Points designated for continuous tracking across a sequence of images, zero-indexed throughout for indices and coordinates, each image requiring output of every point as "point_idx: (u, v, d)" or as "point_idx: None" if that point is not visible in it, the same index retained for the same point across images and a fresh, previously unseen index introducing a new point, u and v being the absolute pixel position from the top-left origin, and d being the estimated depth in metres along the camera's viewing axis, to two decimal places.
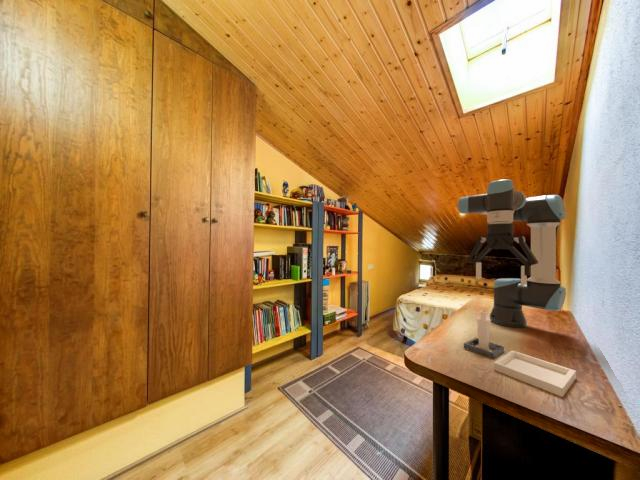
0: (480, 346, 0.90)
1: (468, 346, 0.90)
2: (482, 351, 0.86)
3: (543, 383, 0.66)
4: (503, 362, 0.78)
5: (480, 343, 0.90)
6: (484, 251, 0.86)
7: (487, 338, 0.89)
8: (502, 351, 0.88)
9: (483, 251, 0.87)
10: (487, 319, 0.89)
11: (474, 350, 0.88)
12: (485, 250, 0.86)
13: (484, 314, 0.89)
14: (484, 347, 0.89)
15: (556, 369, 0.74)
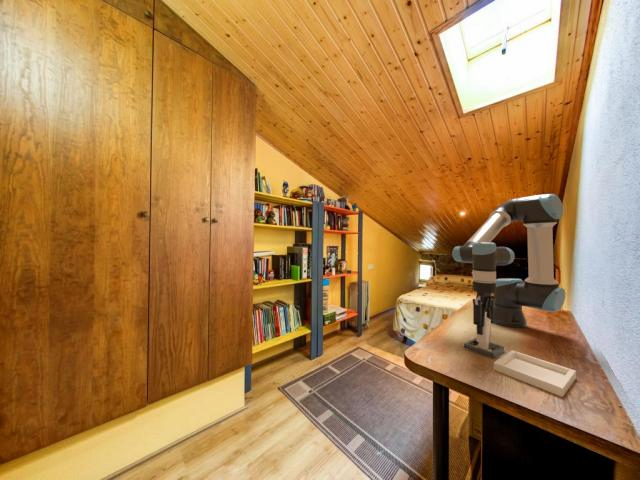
0: (480, 346, 0.90)
1: (468, 346, 0.90)
2: (482, 351, 0.86)
3: (543, 383, 0.66)
4: (503, 362, 0.78)
5: (480, 343, 0.90)
6: None
7: (487, 338, 0.89)
8: (502, 351, 0.88)
9: None
10: (487, 319, 0.89)
11: (474, 350, 0.88)
12: None
13: None
14: (484, 347, 0.89)
15: (556, 369, 0.74)
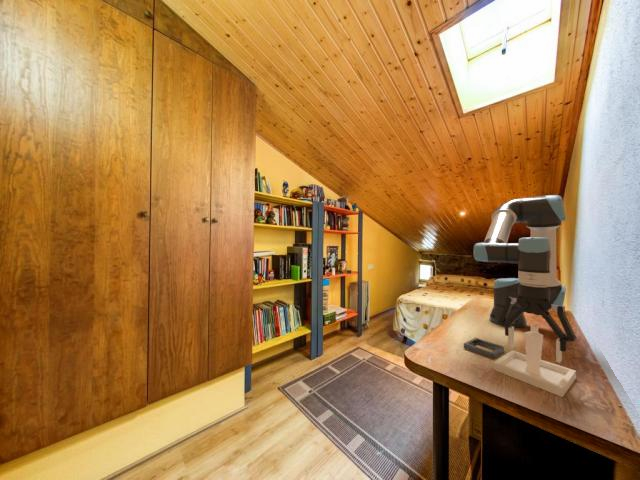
0: (539, 370, 0.72)
1: (468, 346, 0.90)
2: (482, 351, 0.86)
3: (543, 383, 0.66)
4: (503, 362, 0.78)
5: (539, 366, 0.72)
6: (517, 315, 0.77)
7: None
8: (502, 351, 0.88)
9: (515, 315, 0.77)
10: None
11: (474, 350, 0.88)
12: (518, 314, 0.76)
13: None
14: (539, 368, 0.73)
15: (556, 369, 0.74)
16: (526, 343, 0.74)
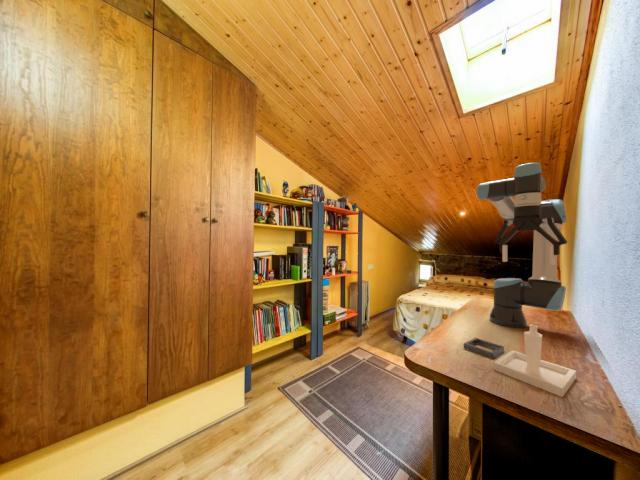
0: (539, 370, 0.72)
1: (468, 346, 0.90)
2: (482, 351, 0.86)
3: (543, 383, 0.66)
4: (503, 362, 0.78)
5: (539, 366, 0.72)
6: (511, 233, 0.89)
7: None
8: (502, 351, 0.88)
9: (510, 234, 0.89)
10: None
11: (474, 350, 0.88)
12: (512, 232, 0.88)
13: None
14: (539, 368, 0.73)
15: (556, 369, 0.74)
16: (525, 343, 0.75)
